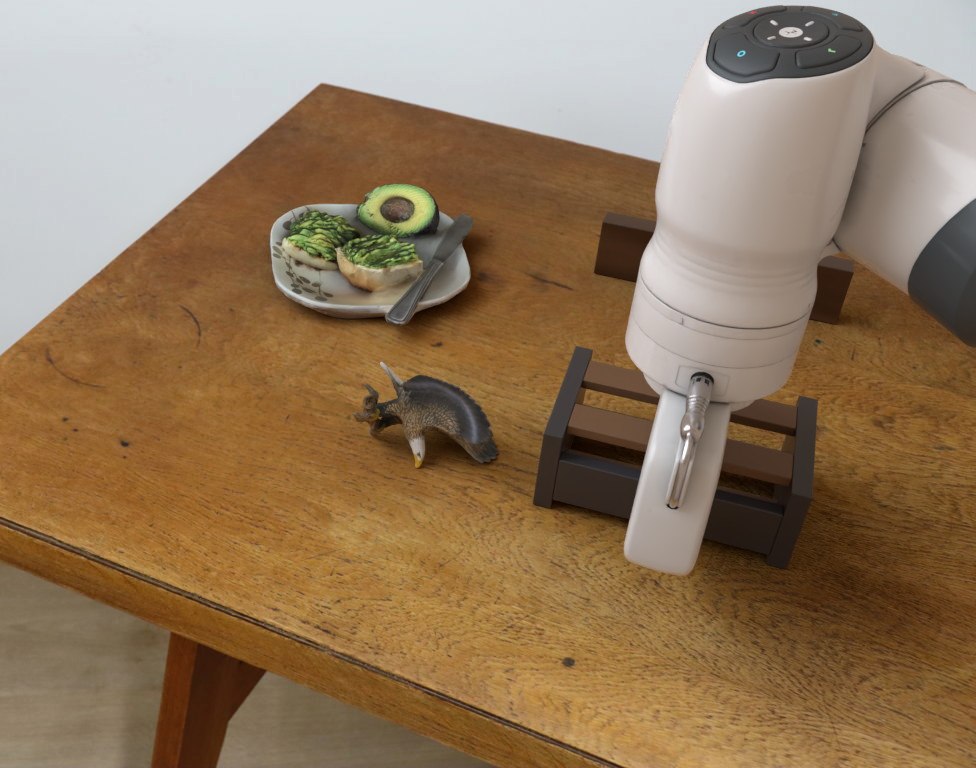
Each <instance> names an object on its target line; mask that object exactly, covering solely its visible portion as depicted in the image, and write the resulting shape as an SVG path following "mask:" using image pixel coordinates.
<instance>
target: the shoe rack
mask: <svg viewBox="0 0 976 768" xmlns="http://www.w3.org/2000/svg"><path fill="white" fill-rule="evenodd" d="M593 353H594V350H593V349H591V348H587V347H583V346H578V345H575V347H574V350H573V353H572V355H571V358H570V361H569V364H568V366H567V369H566V371H565V375H564V378H563V379H562V382H561V385H560V388H559V390H558V393H557V397H556V399H555V401H554V405H553V407H552V410H551V413H550V415H549V418H548V421H547V423H546V425H545V428H544V432H543V435H542V442H541V448H540V455H539V459H538V460H539V461H538V462H539V463H538V467H537V474H536V480H535V487H534V493H533V500H532V504H533V505H534V506H538V507H542V508H545V509H552V506H553V502H554V501H555V502H560V503H564V504H568V505H571V506H576V507H580V508H584V509H588V510H592V511H596V512H599V513H602V514H603V513H604V514H607V515H612V516H615V517H619V518H623V519H627V520H630V516H631V512H632V508H633V504H634V499H635V495H636V491H637V487H638V483H639V479H640V475H641V470H642V466H641V465H637V464H632V463H629V462H624V461H620V460H616V459H612V458H609V457H603V456H600V455H594V454H592V453H587V452H583V451H579V450H575V449H571V448H572V445H573V443H574V439H575V437H580V438H584V439H587V440H588V439H589V440H591V441H598V442H601V443H605V444H609V445H614V446H617V447H622V448H626V449H630V450H634V451H638V452H641V453H642V452H643V453H646V450H647V446H648V442H649V438H650V434H651V430H652V426H653V423H654V420H651V419H647V418H643V417H639V416H634V415H630V414H626V413H621V412H617V411H613V410H608V409H604V408H599V407H594V406H592V405H587V404H584V401H585V396H586V390H590V391H593V392H597V393H603V394H607V395H611V396H616V397H619V398H623V399H629V400H633V401H636V402H641V403H646V404H651V405H653V406H658V403H659V399H660V395H659V394H658V393H656V392H655V391H654V390H653V389H652V388H651V387H650V385H649V384H648V383H647V381H646V379H645V377H644V374H643V372H642V371H641V370H636V369H631V368H627V367H622V366H617V365H614V364H608V363H605V362H600V361H596V360H592V358H593ZM818 404H819V400H818V399H817V398H814V397H813V398H812V397H809V396H803V395H799V396H798V397H797V400H796V404H795V405H791V404H787V403H783V402H779V401H774V400H769V399H765V398H761V399H758V400H755V401H754V402H753V403H751V404H750V405H749V406H747V407H745V408H743V409H740V410H737V411H732V412H731V416H730V422H729V423H732V424H736V425H740V426H745V427H750V428H754V429H758V430H762V431H768V432H772V433H775V434H780V435H784V436H785V437H784V440H783V443H782V446H781V449H780V450H779V449H774V448H771V447H766V446H762V445H758V444H754V443H750V442H746V441H745V442H744V441H741V440H736V439H732V438H728V437H727V440H726V445H725V451H724V457H723V463H722V467H721V472H724V473H725V472H726V473H730V474H734V475H736V476H737V475H738V476H742V477H746V478H751V479H754V480H759V481H762V482H766V483H771V484H773V494H772V498H771V497H768V496H764V495H759V494H756V493H751V492H747V491H744V490H739V489H735V488H731V487H726V486H723V485H718V484H717V488H716V492H715V496H714V500H713V503H712V507H711V511H710V514H709V518H708V522H707V525H706V529H705V532H704V536H703V539H706V540H708V541H713V542H717V543H720V544H725V545H729V546H733V547H737V548H739V549H740V548H741V549H744V550H747V551H752V552H757V553H759V554H765V555H766V565H767V566H770V567H775V568H778V569H782V570H787V569H788V566H789V563H790V561H791V558H792V555H793V552H794V550H795V547H796V544H797V542H798V539H799V536H800V533H801V531H802V528H803V525H804V523H805V520H806V517H807V514H808V512H809V509H810V507H811V504H812V501H813V495H814V479H815V477H814V475H815V461H816V460H815V458H816V442H817V441H816V440H817V424H818V423H817V422H818V406H819V405H818Z"/></svg>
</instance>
